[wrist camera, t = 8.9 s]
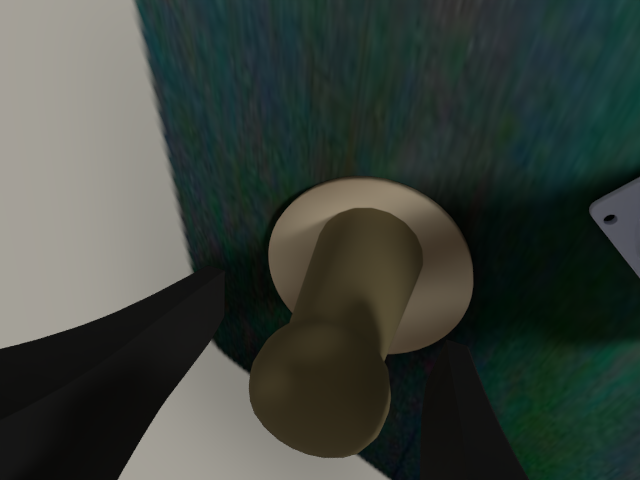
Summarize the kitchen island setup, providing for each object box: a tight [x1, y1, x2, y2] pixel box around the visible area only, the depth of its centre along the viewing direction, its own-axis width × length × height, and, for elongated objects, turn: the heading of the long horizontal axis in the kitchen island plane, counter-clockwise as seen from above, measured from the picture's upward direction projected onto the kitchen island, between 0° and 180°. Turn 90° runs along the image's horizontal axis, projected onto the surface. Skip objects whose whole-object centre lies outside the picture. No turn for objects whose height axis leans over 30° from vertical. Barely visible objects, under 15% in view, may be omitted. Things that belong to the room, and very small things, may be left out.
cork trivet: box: [268, 176, 473, 354], centre depth 23 cm, size 12×12×1 cm
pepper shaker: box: [249, 208, 423, 458], centre depth 18 cm, size 6×6×11 cm
